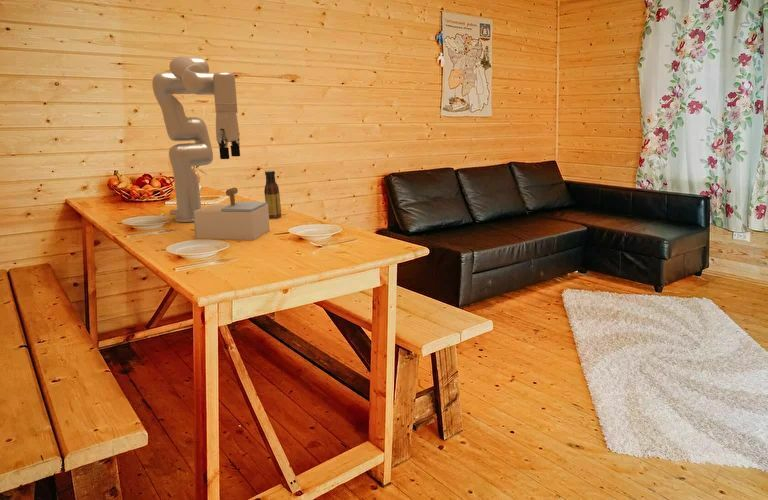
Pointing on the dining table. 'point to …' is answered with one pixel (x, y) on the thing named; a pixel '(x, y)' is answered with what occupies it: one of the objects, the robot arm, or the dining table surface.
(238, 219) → the carton
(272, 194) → the sauce bottle
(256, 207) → the flap
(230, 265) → the dining table surface
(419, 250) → the dining table surface
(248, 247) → the dining table surface
